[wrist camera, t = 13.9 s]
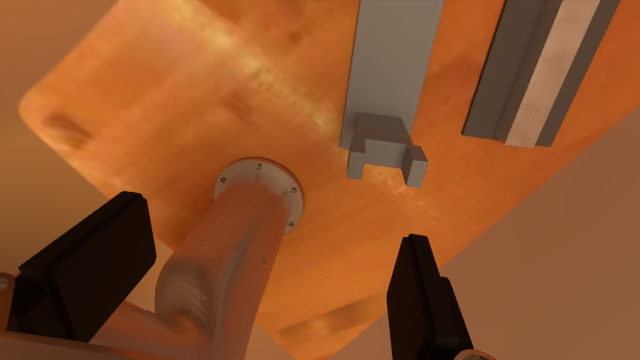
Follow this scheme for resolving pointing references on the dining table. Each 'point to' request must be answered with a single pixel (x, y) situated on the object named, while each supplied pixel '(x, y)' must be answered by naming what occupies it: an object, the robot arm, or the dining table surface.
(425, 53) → the rack
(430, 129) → the dining table surface
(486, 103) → the mat
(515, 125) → the rail
